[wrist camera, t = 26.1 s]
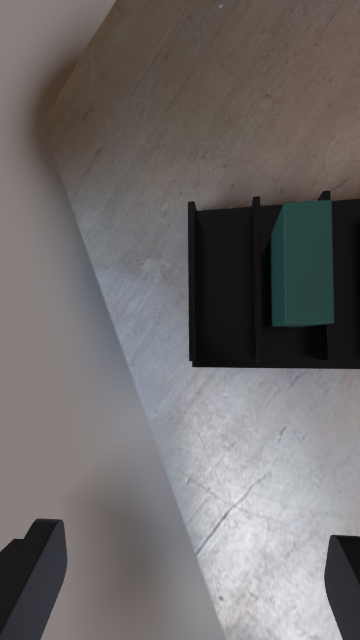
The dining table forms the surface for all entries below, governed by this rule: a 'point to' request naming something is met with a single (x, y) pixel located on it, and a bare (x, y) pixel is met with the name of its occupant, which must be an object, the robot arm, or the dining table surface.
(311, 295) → the green book
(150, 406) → the dining table surface
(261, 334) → the rack
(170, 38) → the dining table surface
